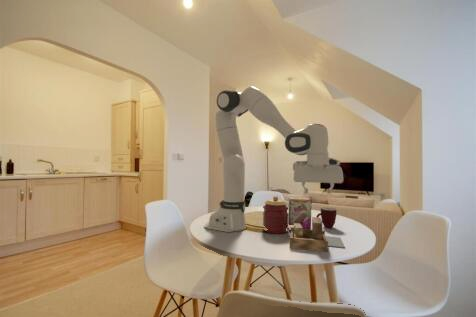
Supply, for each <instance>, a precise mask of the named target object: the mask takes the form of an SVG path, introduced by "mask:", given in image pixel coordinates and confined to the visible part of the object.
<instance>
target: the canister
mask: <svg viewBox="0 0 476 317" xmlns="http://www.w3.org/2000/svg"><path fill="white" fill-rule="evenodd" d="M264 204H265V205H263V206H262V208H263V212H262V216H263V217H262V226H263V225H264V226H265V227H266V228H267V229H268V230H267V232H266V233H269V234H274V235H275V234H276V235H278V234H286V233H287V232H286V228H287V227H288V216H289V213H288V211H289V206H287V204H288V202H285V201H284V200H283V199H279V197H278V196H276V195H274V196H273V197H272V198H270V199H267V200H266V201H265V202H264Z"/></svg>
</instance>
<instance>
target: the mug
mask: <svg viewBox="0 0 476 317" xmlns="http://www.w3.org/2000/svg"><path fill="white" fill-rule="evenodd" d="M316 217H318V218H321V221H322V226H323V227H324V228H327V229H332V228H333V227H334V225H335V223H336V219H337V209H336V208H332V207H321V208H320V213H317V215H316Z"/></svg>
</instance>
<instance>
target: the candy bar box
mask: <svg viewBox="0 0 476 317" xmlns="http://www.w3.org/2000/svg"><path fill="white" fill-rule="evenodd" d="M294 223H299V224H300V225H301V226H302V228H303V229H310V230H312V199H311V198H308V197H307V198H306V197H303V198H302V197H288V224H289V225H294Z"/></svg>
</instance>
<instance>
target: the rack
mask: <svg viewBox="0 0 476 317" xmlns="http://www.w3.org/2000/svg"><path fill="white" fill-rule="evenodd" d="M326 236H327V235H326V231H325V230H322V240H314V239H312V229H311V230H310V229H303V235H302V236H301V238H295V237H294V228H291V230H290V236H289V248H291V249H300V250H311V251H316V252H324V253H328V252H329V246H328V241H327V239H326Z"/></svg>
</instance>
